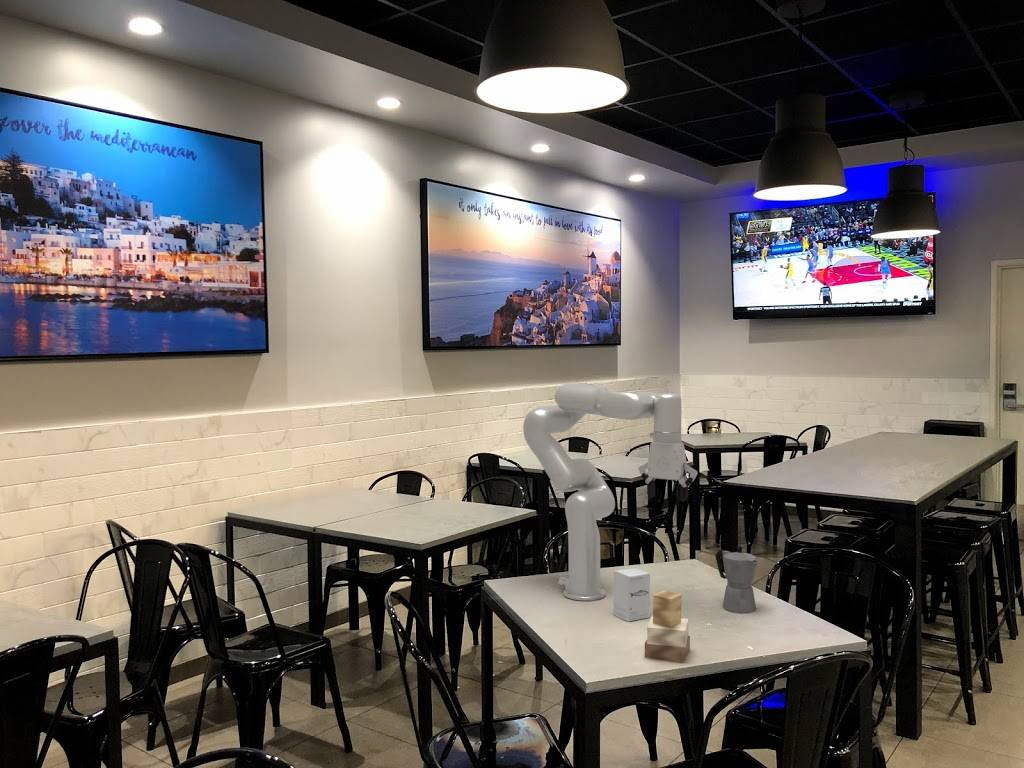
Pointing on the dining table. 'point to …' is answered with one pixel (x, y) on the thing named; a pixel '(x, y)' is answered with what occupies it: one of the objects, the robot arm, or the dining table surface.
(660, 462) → the robot arm
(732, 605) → the coffeepot
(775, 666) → the dining table surface
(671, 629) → the maple slab
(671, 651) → the walnut slab
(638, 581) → the supplement box
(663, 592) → the oak block
